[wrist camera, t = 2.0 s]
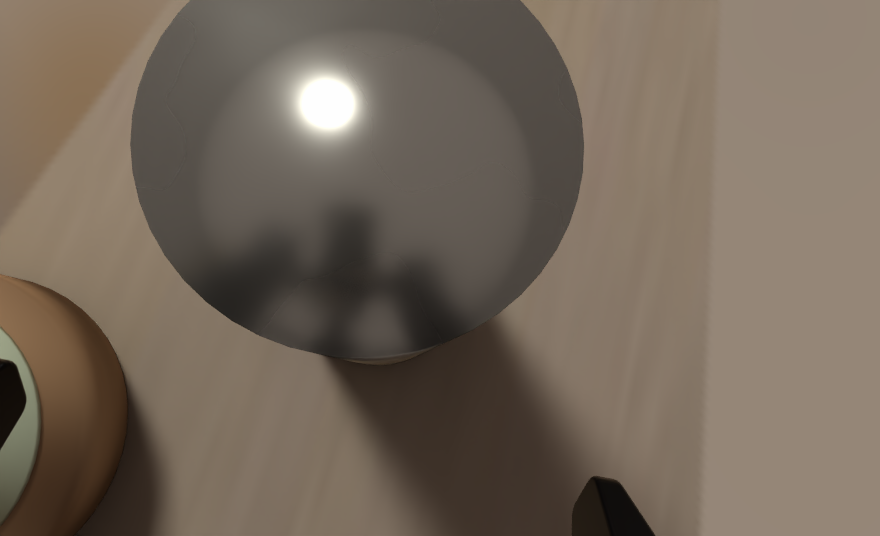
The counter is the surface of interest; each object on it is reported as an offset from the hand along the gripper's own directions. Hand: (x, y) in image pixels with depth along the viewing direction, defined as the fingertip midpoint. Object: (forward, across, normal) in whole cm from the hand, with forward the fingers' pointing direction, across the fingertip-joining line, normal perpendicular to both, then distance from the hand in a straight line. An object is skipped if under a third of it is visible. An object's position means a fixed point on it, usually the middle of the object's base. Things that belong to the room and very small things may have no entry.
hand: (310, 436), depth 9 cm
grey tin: (+11, 0, +5) cm, 12 cm away
